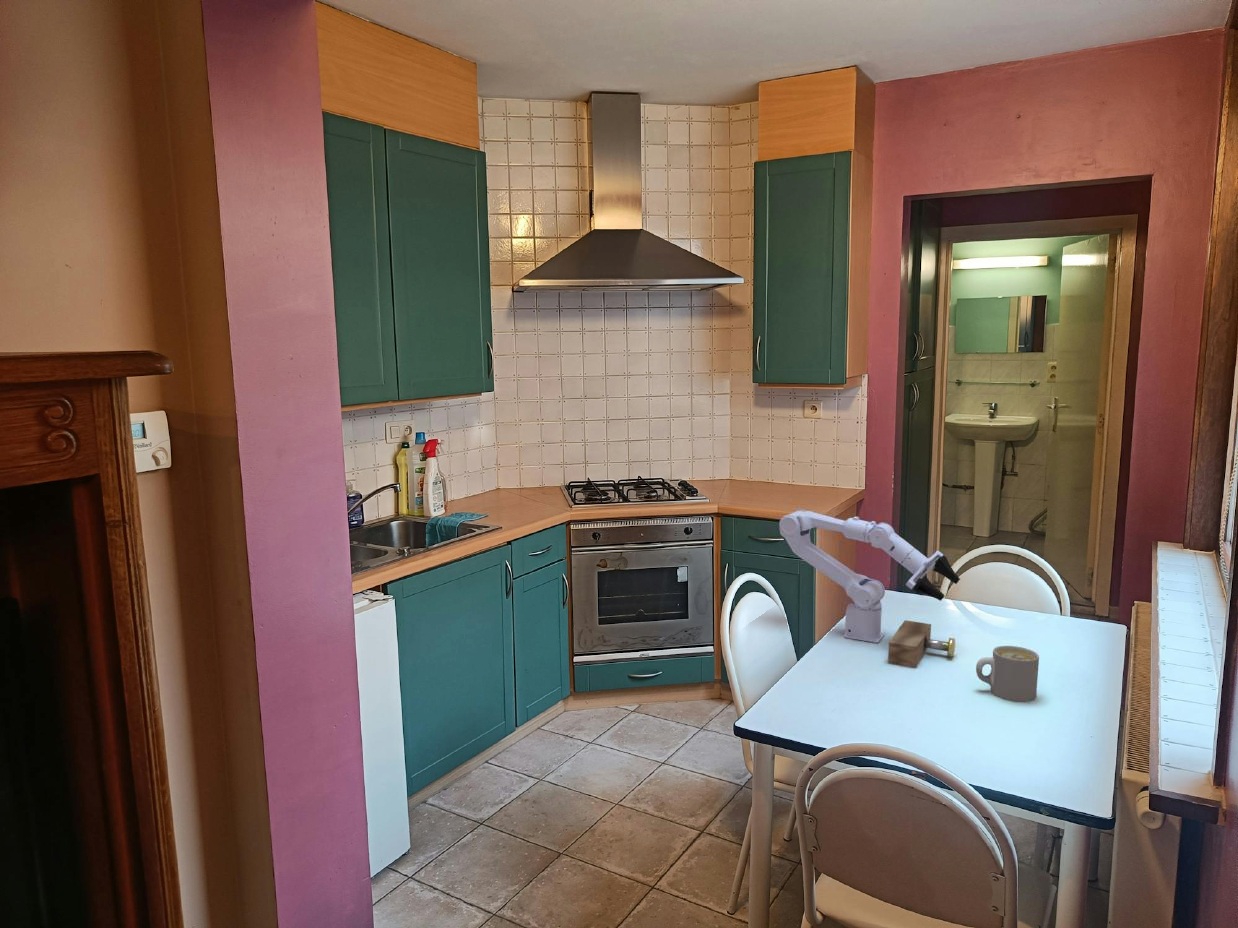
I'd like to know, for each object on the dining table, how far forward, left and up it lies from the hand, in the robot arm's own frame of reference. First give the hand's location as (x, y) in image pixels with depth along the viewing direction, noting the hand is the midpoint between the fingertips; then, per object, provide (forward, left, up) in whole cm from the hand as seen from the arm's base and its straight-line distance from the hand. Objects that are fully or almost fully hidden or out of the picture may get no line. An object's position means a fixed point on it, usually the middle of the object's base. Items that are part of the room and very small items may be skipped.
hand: (950, 589), depth 230 cm
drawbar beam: (-9, -5, -17) cm, 20 cm away
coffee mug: (+16, -20, -18) cm, 31 cm away
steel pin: (-3, -3, -17) cm, 18 cm away
